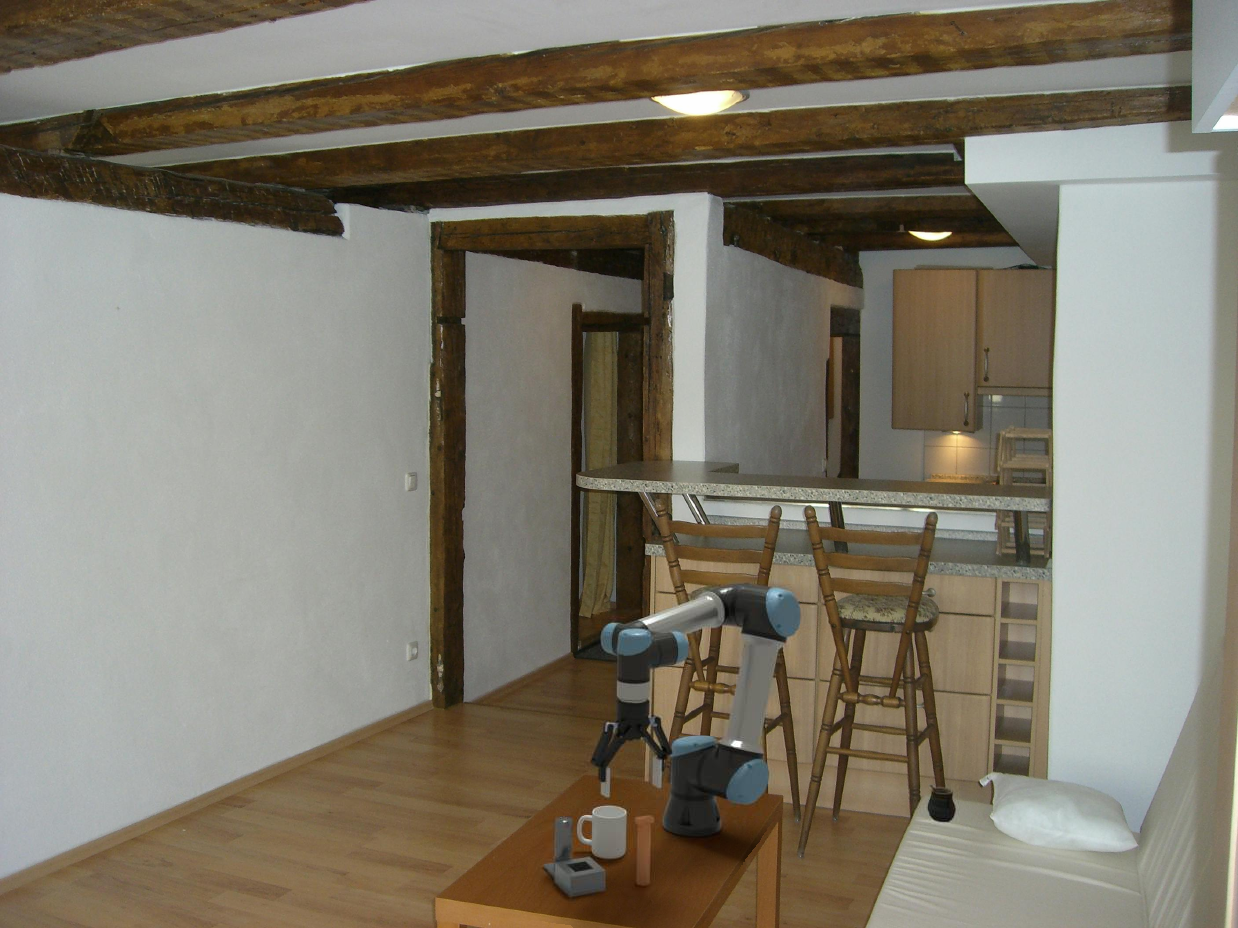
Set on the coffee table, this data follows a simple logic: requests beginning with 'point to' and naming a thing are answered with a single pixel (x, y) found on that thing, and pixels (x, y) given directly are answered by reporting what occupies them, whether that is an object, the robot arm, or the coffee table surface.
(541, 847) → the coffee table surface
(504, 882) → the coffee table surface
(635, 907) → the coffee table surface
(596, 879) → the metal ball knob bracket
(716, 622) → the robot arm
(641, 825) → the wedge pin
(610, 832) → the cup
